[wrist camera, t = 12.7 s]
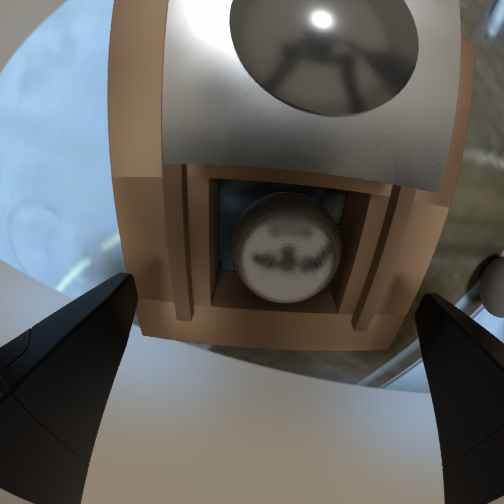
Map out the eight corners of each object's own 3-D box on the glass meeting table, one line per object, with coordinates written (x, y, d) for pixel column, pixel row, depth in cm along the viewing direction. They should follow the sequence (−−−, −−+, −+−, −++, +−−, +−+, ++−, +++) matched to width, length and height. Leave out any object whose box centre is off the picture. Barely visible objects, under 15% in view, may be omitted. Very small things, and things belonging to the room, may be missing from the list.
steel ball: (319, 265, 13) (338, 327, 10) (232, 260, 13) (225, 324, 10) (336, 183, 11) (369, 227, 8) (236, 174, 11) (226, 216, 8)
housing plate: (439, 48, 7) (484, 45, 5) (375, 315, 15) (391, 358, 12) (143, 13, 7) (105, -6, 5) (157, 301, 15) (138, 344, 12)
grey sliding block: (404, -8, 5) (458, -34, 2) (390, 160, 8) (442, 196, 5) (207, -37, 5) (181, -86, 2) (195, 139, 8) (160, 165, 5)
